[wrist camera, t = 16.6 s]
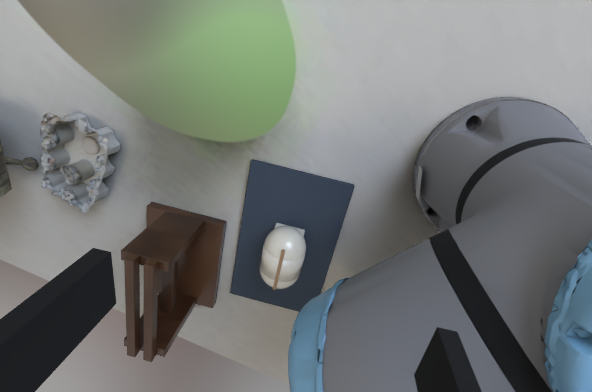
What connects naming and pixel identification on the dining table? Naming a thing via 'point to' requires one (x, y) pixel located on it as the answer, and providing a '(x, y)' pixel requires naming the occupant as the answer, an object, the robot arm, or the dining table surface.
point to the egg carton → (76, 158)
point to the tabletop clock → (0, 174)
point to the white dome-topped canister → (282, 256)
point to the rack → (170, 275)
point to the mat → (293, 212)
